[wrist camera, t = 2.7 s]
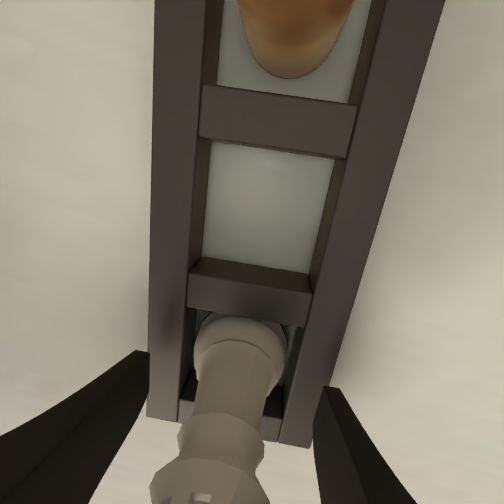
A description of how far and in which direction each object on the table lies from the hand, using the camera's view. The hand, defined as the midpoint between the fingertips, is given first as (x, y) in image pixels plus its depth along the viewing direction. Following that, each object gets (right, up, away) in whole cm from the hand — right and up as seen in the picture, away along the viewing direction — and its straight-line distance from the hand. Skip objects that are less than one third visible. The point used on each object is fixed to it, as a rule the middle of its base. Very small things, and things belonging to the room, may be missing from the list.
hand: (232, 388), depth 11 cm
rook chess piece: (0, +1, +3) cm, 3 cm away
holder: (+1, +7, +1) cm, 7 cm away
